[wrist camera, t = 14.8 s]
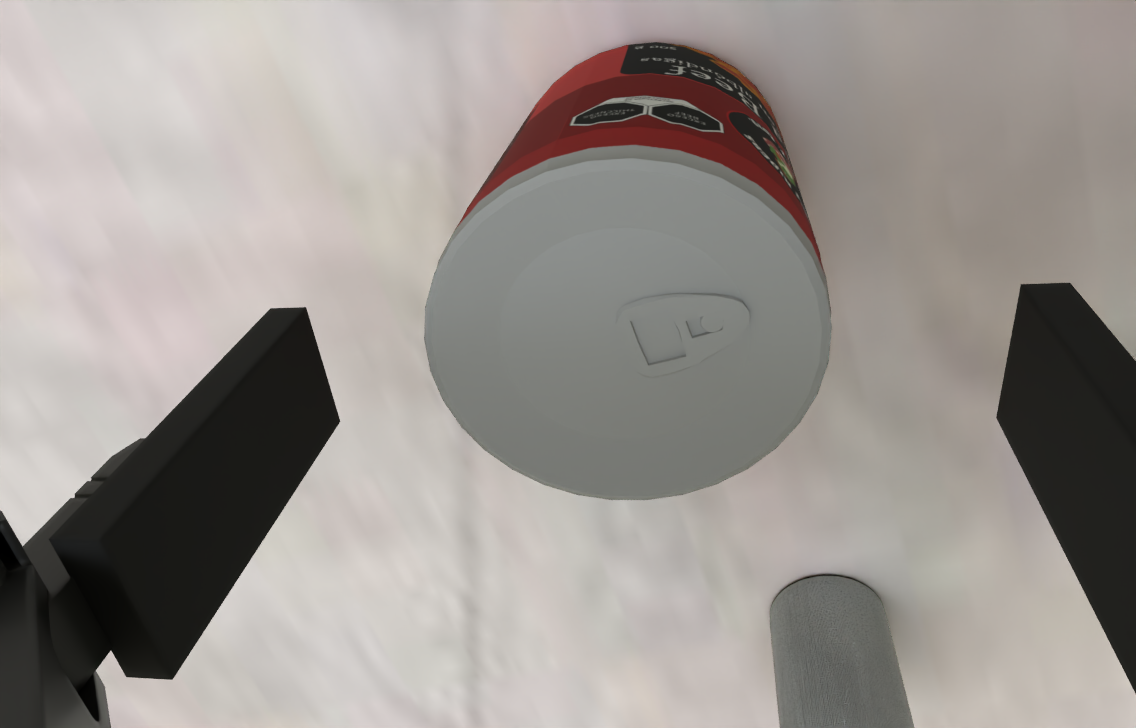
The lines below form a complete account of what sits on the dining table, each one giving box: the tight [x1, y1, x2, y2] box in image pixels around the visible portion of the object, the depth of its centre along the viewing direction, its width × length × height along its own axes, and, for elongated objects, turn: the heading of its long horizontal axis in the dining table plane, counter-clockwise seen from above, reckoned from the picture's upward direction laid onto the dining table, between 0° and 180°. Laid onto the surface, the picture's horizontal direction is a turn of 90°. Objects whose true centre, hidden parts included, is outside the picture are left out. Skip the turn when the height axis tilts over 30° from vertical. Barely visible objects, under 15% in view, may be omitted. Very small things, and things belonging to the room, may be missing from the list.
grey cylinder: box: [770, 576, 914, 728], centre depth 30 cm, size 4×4×10 cm
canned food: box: [424, 42, 832, 500], centre depth 21 cm, size 8×8×11 cm
